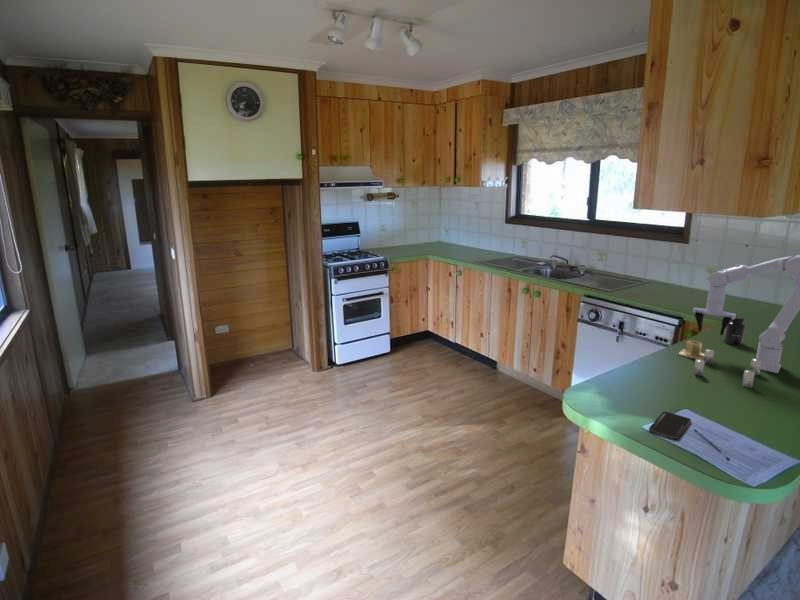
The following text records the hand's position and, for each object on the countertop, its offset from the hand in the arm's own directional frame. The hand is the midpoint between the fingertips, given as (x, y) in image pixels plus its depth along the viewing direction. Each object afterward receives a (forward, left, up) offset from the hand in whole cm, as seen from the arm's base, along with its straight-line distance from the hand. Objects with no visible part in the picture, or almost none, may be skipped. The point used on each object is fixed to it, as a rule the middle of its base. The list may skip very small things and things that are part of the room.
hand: (710, 332), depth 194 cm
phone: (+75, +6, -10) cm, 76 cm away
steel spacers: (+19, +10, -9) cm, 23 cm away
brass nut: (+6, -4, -9) cm, 11 cm away
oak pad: (+6, -4, -9) cm, 12 cm away
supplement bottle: (-23, +5, -10) cm, 25 cm away
